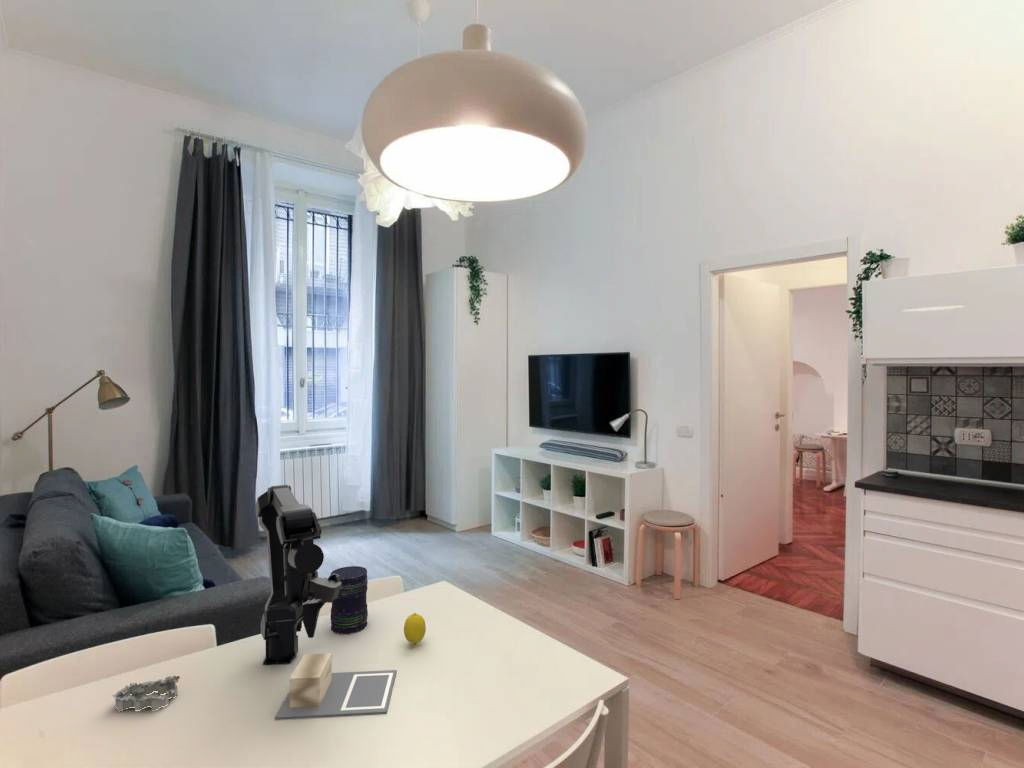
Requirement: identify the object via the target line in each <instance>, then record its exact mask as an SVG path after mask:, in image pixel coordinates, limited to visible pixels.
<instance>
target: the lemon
mask: <svg viewBox="0 0 1024 768" xmlns="http://www.w3.org/2000/svg"><path fill="white" fill-rule="evenodd" d="M426 627H427V626H426V621H425V618H424V617H423V616H422V615H421V614H419V613H416V612H414V613H412V614H409V616H407V618H406V620H405V621H404V626H403V634H404V637H405V639H406V641H408V642H409V643H412V644H413V645H417V644H418V643H419V642H421V641H422V640H423V638H424V637H425V635H426V629H427V628H426Z"/></svg>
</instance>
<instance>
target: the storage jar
mask: <svg viewBox="0 0 1024 768" xmlns="http://www.w3.org/2000/svg"><path fill="white" fill-rule="evenodd" d="M332 574H338V575H340V581H341V582H342V584H341V585H342V589H340V590H339V594H338V598H337V599H335V600H333V602H331V608H330V625H331V626H330V630H331V632H332V631H333V632H332V633H334V632H335V634H337V633H339V634H338V635H351V633H352V634H356V633H359V632H361V631H364V628H365V627H366V626H367V627H368V615H369V612H368V611H369V609H368V604H367V591H368V569H367V568H365V567H364V566H359V565H358V566H357V565H355V566H354V565H351V566H349V565H348V566H343V567H339V568H335V570H333V571H331V572H330V575H332ZM367 627H366V628H367ZM366 628H365V629H366Z"/></svg>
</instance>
